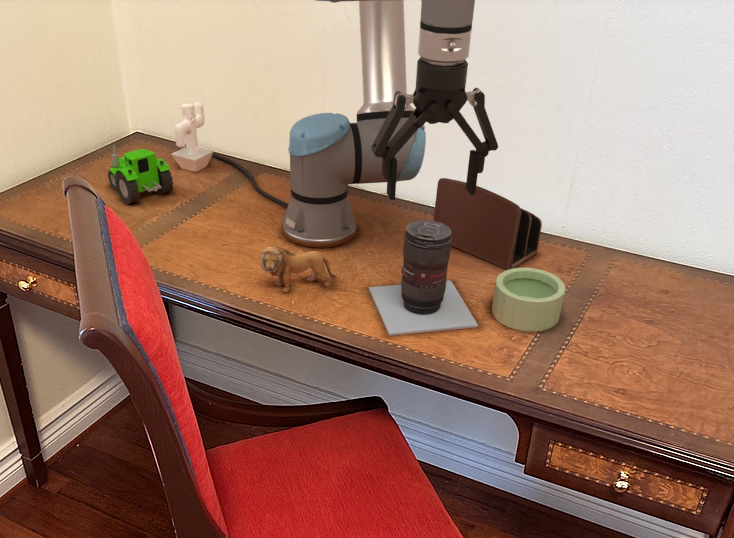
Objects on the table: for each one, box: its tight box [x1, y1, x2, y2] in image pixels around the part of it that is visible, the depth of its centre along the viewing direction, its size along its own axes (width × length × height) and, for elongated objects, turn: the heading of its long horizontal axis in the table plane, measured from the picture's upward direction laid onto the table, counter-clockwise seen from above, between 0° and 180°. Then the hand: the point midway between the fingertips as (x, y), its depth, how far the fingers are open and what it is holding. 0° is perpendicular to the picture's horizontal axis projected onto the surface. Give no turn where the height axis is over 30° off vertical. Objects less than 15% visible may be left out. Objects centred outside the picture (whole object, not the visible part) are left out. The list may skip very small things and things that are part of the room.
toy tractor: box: [107, 143, 174, 205], centre depth 178 cm, size 11×16×10 cm
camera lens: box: [400, 219, 452, 315], centre depth 139 cm, size 8×8×15 cm
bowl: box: [491, 267, 567, 332], centre depth 142 cm, size 12×12×6 cm
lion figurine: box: [259, 245, 337, 293], centre depth 147 cm, size 15×5×9 cm, turn 114°
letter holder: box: [432, 177, 543, 271], centre depth 160 cm, size 10×20×14 cm, turn 47°
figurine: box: [170, 101, 215, 173], centre depth 188 cm, size 7×9×15 cm
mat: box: [368, 279, 479, 337], centre depth 144 cm, size 16×16×1 cm
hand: (430, 194), depth 131 cm, fingers open, 13 cm apart
